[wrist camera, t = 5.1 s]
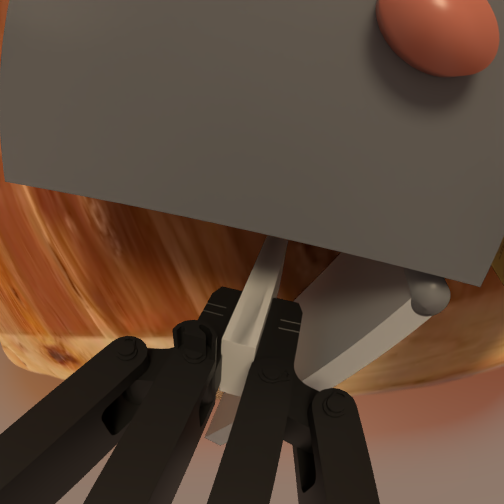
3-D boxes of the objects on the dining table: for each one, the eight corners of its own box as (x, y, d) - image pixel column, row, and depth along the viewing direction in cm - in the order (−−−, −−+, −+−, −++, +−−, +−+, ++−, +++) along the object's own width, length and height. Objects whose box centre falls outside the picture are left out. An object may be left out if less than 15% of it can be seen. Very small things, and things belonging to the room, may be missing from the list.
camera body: (119, 139, 16) (-10, 191, 8) (132, -9, 11) (2, -35, 4) (450, 204, 13) (536, 320, 5) (484, 34, 8) (602, 6, 1)
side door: (393, 191, 13) (433, 273, 7) (421, 217, 13) (469, 309, 7) (239, 350, 20) (203, 436, 14) (262, 364, 20) (232, 451, 14)
